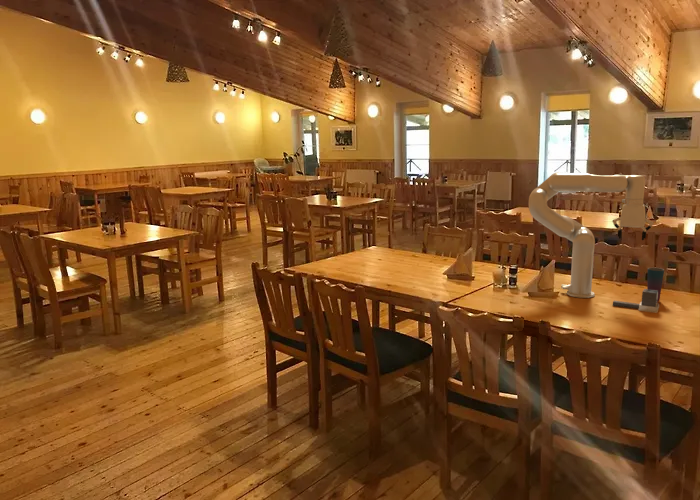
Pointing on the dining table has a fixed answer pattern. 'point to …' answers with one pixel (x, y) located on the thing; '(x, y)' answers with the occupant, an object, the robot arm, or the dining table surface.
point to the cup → (655, 280)
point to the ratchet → (637, 306)
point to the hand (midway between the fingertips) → (631, 239)
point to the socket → (649, 297)
